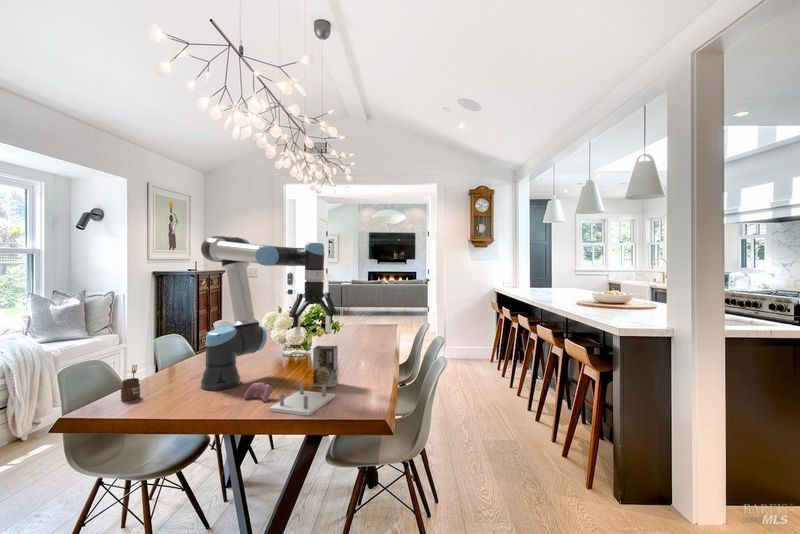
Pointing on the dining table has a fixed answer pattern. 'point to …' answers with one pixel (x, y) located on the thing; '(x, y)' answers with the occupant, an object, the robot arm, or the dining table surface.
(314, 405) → the pin tray
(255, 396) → the video game controller
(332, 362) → the coffee box
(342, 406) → the dining table surface
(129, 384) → the utensil holder
